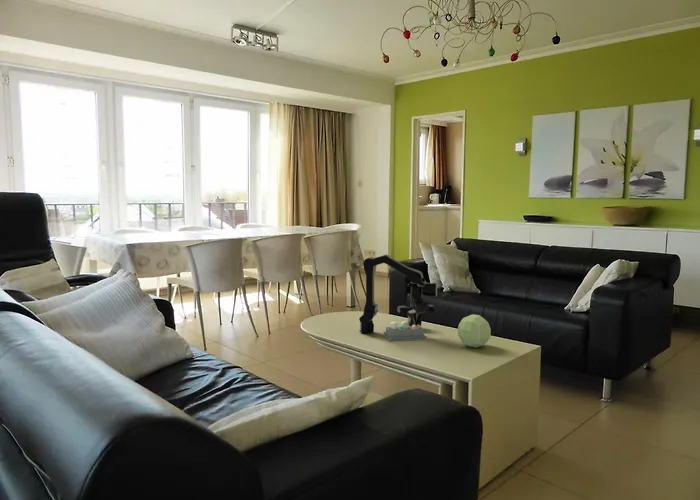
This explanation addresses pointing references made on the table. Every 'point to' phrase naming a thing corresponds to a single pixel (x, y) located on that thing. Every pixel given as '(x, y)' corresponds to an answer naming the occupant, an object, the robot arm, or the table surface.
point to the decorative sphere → (474, 331)
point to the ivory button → (393, 325)
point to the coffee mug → (412, 319)
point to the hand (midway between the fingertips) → (416, 325)
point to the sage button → (404, 325)
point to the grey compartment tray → (405, 334)
